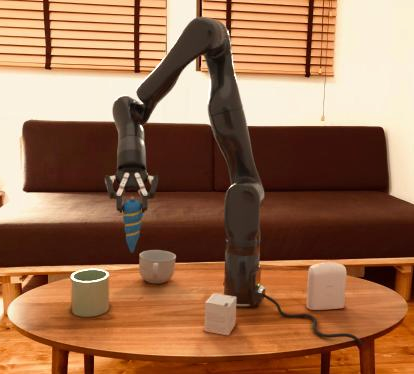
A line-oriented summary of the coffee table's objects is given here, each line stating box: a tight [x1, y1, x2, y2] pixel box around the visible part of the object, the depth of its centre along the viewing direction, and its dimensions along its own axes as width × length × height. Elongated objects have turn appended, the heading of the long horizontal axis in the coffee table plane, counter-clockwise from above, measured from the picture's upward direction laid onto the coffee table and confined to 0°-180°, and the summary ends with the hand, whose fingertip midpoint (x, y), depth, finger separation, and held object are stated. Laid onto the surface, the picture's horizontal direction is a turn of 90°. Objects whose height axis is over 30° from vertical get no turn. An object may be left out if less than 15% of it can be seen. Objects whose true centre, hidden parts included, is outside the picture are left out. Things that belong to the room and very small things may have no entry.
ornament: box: [122, 196, 144, 253], centre depth 117 cm, size 5×5×15 cm
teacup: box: [138, 249, 177, 284], centre depth 137 cm, size 14×11×8 cm
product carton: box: [203, 292, 237, 336], centre depth 110 cm, size 6×6×7 cm
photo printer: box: [306, 261, 347, 311], centre depth 123 cm, size 10×4×12 cm, turn 100°
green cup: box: [70, 268, 110, 318], centre depth 118 cm, size 9×9×9 cm
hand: (132, 211), depth 114 cm, fingers closed on ornament, 5 cm apart
